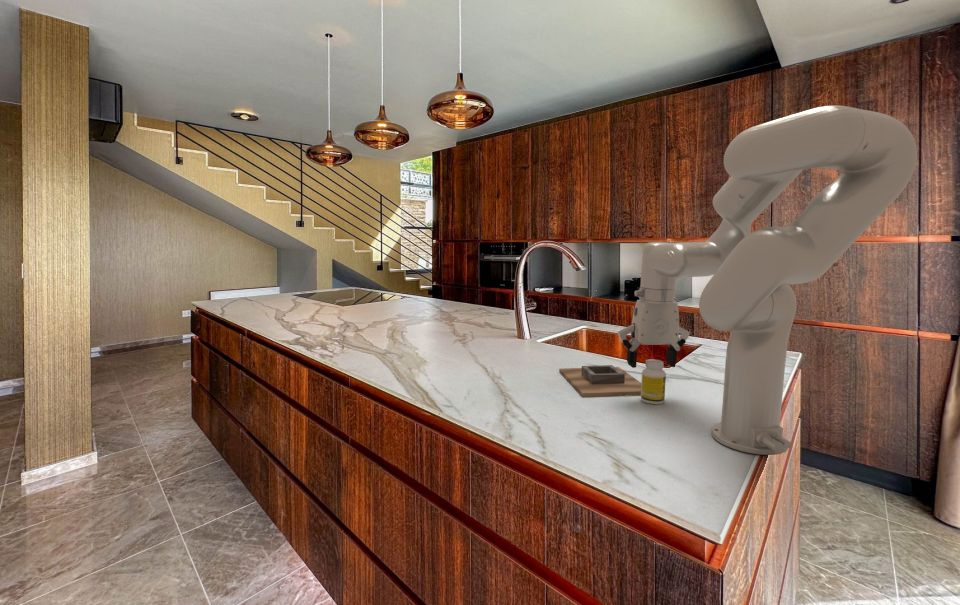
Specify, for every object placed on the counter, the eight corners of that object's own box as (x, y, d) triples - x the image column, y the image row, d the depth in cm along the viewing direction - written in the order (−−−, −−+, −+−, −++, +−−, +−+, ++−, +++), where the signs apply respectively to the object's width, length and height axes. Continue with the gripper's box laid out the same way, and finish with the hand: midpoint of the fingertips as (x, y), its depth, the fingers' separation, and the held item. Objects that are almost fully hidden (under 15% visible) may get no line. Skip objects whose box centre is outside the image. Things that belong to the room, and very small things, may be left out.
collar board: (652, 394, 112) (653, 381, 112) (582, 397, 111) (582, 383, 110) (618, 370, 134) (618, 358, 134) (559, 371, 133) (559, 360, 132)
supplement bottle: (666, 405, 105) (668, 364, 104) (642, 403, 106) (644, 363, 105) (662, 397, 110) (664, 358, 109) (639, 396, 111) (640, 357, 110)
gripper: (627, 298, 101) (622, 371, 104) (701, 297, 102) (694, 370, 105) (614, 293, 108) (610, 361, 111) (683, 293, 110) (677, 360, 112)
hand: (651, 365), depth 108 cm, fingers open, 9 cm apart
